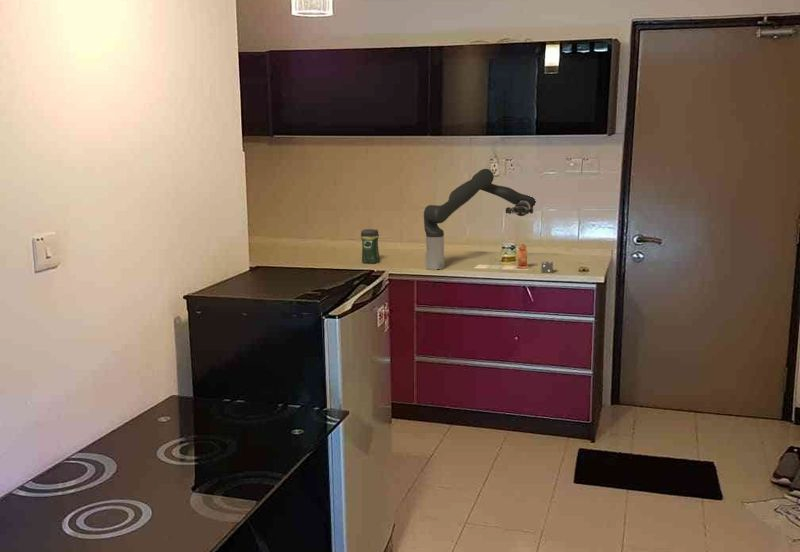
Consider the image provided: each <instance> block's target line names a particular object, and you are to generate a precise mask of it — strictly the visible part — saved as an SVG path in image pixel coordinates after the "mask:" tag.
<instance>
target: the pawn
mask: <svg viewBox="0 0 800 552" xmlns="http://www.w3.org/2000/svg"><path fill="white" fill-rule="evenodd" d="M517 251H518V252H517V257H518V258H517V261H518V262H517V265H516V268H519V269H526V268H529V264H528V250H527V246H526V244H524V243H521V244H519V246H518V250H517ZM529 269H530V268H529Z"/></svg>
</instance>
